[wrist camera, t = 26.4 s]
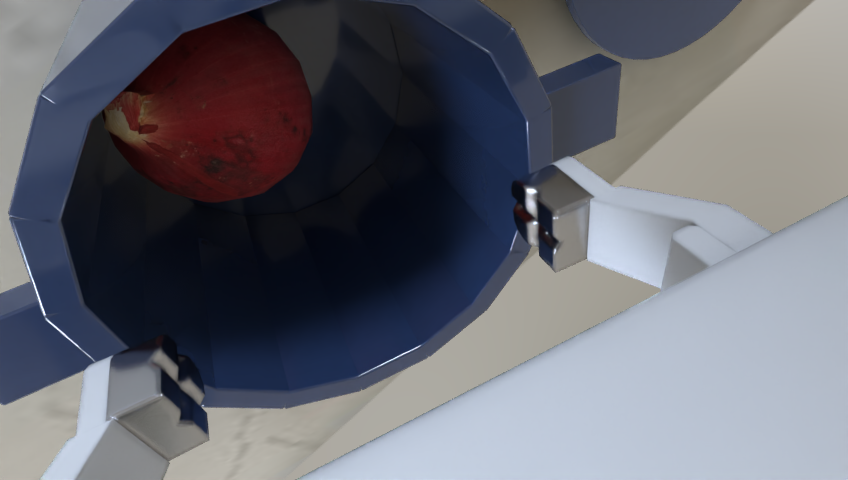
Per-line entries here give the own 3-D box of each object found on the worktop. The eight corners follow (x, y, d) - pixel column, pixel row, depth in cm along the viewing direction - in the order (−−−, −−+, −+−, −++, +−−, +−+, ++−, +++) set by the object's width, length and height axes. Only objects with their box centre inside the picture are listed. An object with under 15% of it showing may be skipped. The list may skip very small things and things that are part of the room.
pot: (-123, -2, 14) (-443, 172, 6) (441, -165, 17) (667, -175, 10) (134, 287, 23) (126, 508, 15) (481, 142, 26) (618, 264, 18)
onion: (371, 113, 18) (293, 159, 11) (264, 198, 20) (135, 286, 13) (267, -25, 17) (100, -78, 10) (163, 78, 19) (-46, 99, 12)
